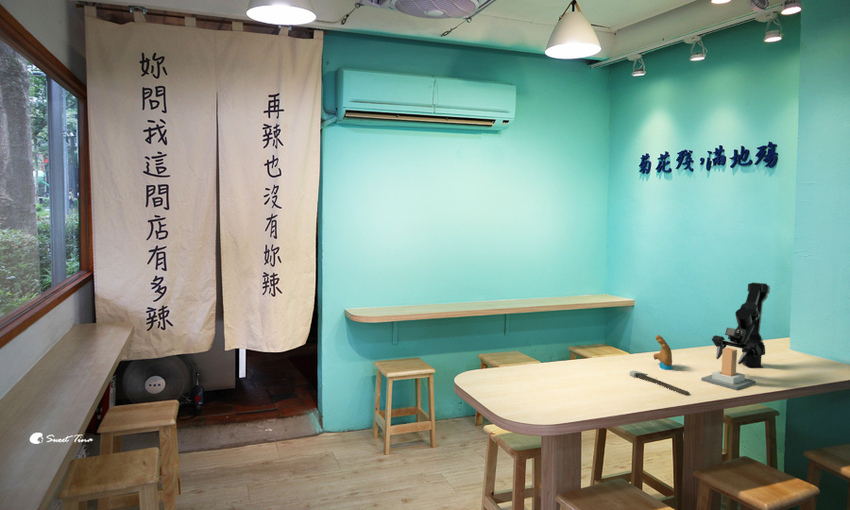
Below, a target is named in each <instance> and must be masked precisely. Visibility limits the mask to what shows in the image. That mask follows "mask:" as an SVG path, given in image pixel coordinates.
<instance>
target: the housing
mask: <svg viewBox="0 0 850 510" xmlns="http://www.w3.org/2000/svg"><path fill="white" fill-rule="evenodd" d="M721 372H722V369H720V370H718V371H714V372H712V374H710V375H706V376H704V377H703V376H702V377H701V378H700V379H701V381H702V382H704V383H705V382H706V383H709V384H712V385H715V386H719V385H720V386H719V387H724V388H726V389H730V388H731V390H734V389H735V390H734V391H738V390H741V389H744V388H747V387H749V385H750V386H752V384H753V385H755V384H756V380H754V379H749V378H745V376H746V374H745V373H741V372H737V371H736V375H735V376H732V377H731V376H727V375H724V374H721ZM743 387H744V388H743Z"/></svg>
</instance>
